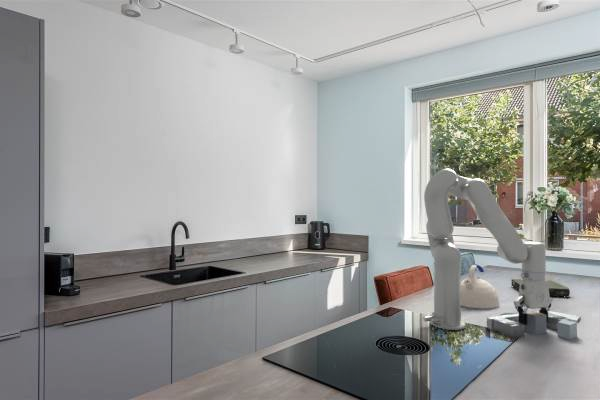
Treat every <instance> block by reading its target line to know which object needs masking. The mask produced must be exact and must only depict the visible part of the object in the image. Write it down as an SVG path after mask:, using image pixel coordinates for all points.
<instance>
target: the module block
mask: <svg viewBox="0 0 600 400" xmlns="http://www.w3.org/2000/svg"><path fill="white" fill-rule="evenodd" d="M526 314H527V325H524V324H523V325H524V331H527V332H529V333H530V334H534V335H539V334H546V333H547V328H548V327H547V326H546V315H545V314H543V313H538V311H535V310H527V312H526Z"/></svg>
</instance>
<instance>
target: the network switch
mask: <svg viewBox="0 0 600 400" xmlns="http://www.w3.org/2000/svg"><path fill="white" fill-rule="evenodd" d="M521 279H522V278H521ZM521 279H519V278H518V279H517V278H512V279H511V287H512V286H513V287H514V288H513V287H512V288H513V289H515V288H516V289H515V290H517V291H518V292H519V288H520V282H521ZM546 280H547V283H548V287H549V297H560V296H565V297H564V298H567V297H566V296H568V297H570V294H571V293H570V288H569V287H568V286H565V285H563V284H561V283H558V282H557V281H555V280H548V279H546Z"/></svg>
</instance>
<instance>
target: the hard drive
mask: <svg viewBox="0 0 600 400" xmlns="http://www.w3.org/2000/svg"><path fill="white" fill-rule="evenodd" d="M548 312H550V313H552V314H555V315H559V316H563V317H566V318H569V319H571V321H572V322H577V323H579V321H580V320H581V319H580V318H582V317H581V315H574V314H570V313H563V312H557V311H552V310H549V311H548Z"/></svg>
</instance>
